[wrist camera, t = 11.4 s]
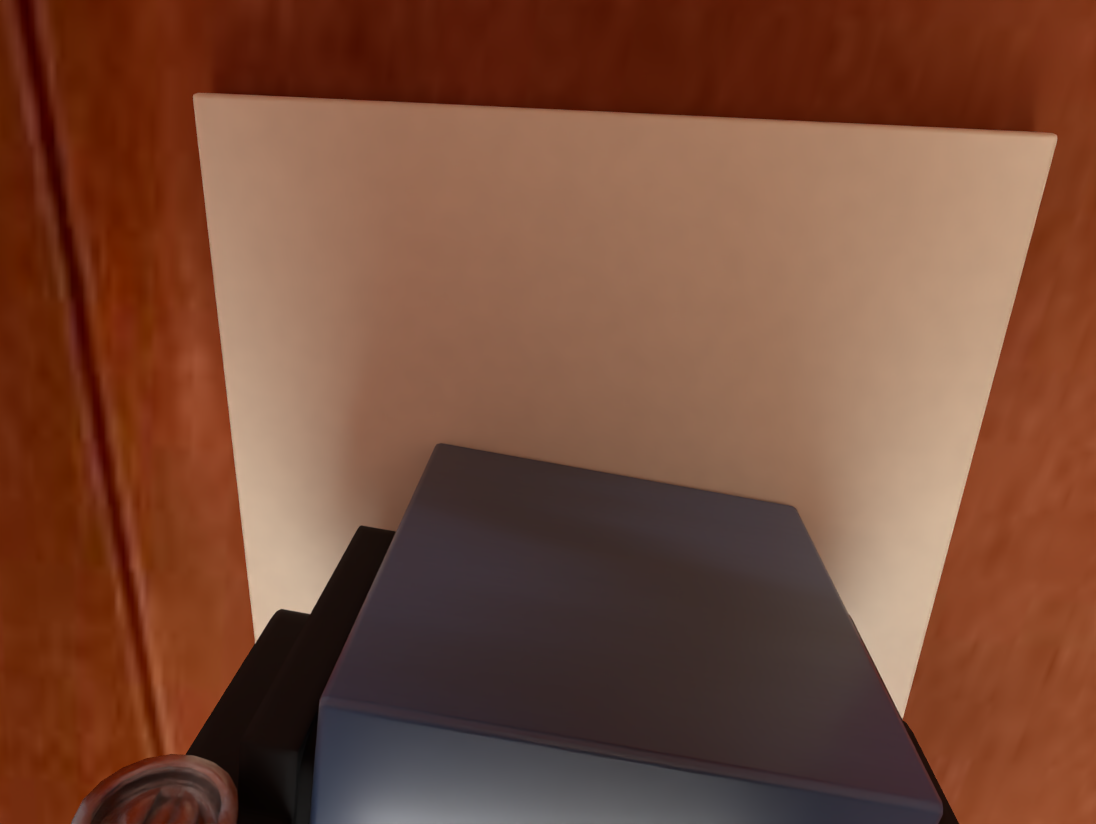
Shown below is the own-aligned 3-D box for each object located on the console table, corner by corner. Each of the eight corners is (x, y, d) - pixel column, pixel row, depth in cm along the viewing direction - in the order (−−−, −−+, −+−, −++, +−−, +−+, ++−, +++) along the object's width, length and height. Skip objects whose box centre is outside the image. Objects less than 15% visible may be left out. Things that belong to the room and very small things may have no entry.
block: (399, 722, 13) (286, 1087, 8) (436, 439, 11) (316, 698, 6) (707, 776, 13) (774, 1167, 8) (796, 504, 11) (951, 810, 6)
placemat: (208, 92, 10) (189, 92, 9) (1037, 132, 9) (1061, 133, 9) (294, 893, 15) (285, 919, 14) (830, 937, 15) (839, 965, 14)
